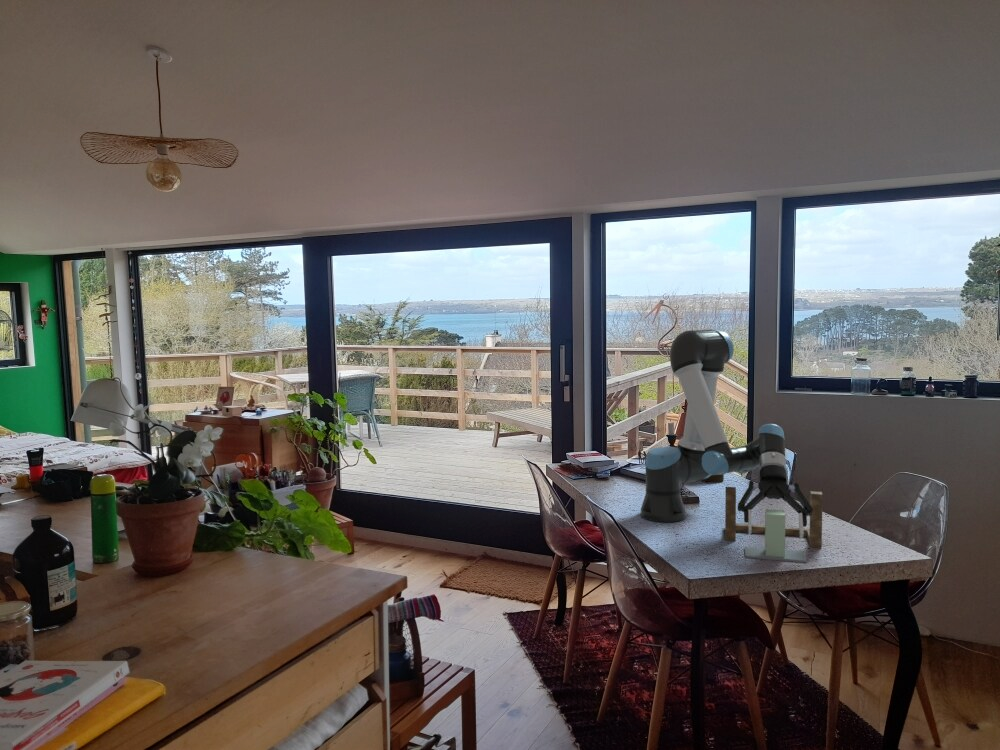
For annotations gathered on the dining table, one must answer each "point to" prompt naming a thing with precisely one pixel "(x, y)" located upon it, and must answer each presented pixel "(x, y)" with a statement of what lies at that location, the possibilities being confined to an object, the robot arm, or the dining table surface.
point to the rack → (731, 527)
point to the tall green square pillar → (775, 533)
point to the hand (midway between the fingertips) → (775, 534)
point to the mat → (789, 556)
